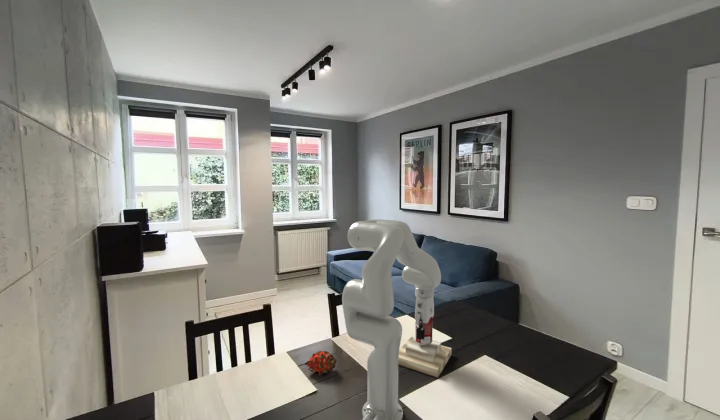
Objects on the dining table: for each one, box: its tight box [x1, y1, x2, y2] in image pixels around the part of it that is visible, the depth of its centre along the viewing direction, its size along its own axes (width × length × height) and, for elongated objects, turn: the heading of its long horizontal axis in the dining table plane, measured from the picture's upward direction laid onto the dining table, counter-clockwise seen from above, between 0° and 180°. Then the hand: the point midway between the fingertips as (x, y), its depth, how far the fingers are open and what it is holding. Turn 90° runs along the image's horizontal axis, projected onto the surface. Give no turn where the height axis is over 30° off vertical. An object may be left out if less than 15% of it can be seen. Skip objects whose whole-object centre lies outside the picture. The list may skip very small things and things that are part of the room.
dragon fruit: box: [304, 350, 337, 376], centre depth 119 cm, size 8×8×12 cm
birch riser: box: [398, 336, 452, 378], centre depth 128 cm, size 18×18×6 cm
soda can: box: [414, 317, 434, 345], centre depth 127 cm, size 7×7×12 cm
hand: (423, 334), depth 127 cm, fingers closed on soda can, 6 cm apart
